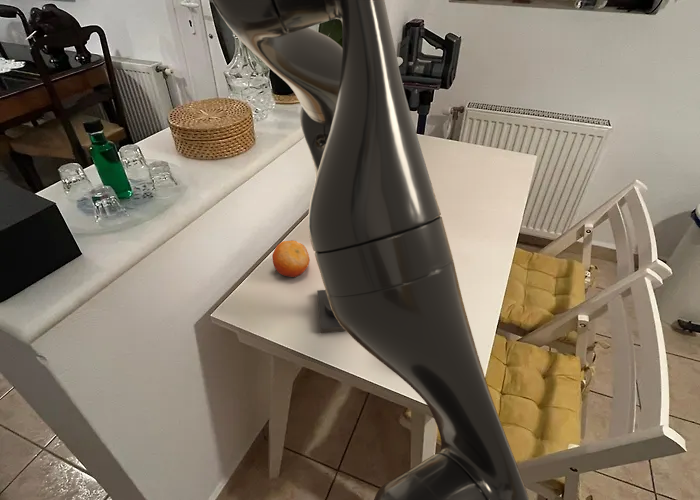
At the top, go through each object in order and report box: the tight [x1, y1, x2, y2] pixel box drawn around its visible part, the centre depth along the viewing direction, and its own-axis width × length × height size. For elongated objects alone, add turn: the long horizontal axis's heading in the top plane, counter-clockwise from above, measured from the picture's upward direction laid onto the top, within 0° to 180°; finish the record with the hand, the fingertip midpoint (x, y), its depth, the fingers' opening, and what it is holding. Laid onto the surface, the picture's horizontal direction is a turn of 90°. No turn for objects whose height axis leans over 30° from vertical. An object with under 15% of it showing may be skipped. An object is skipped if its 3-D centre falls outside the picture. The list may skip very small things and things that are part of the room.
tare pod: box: [316, 289, 346, 334], centre depth 84 cm, size 10×8×3 cm
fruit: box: [271, 240, 311, 278], centre depth 92 cm, size 8×8×8 cm
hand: (338, 289), depth 81 cm, fingers closed
